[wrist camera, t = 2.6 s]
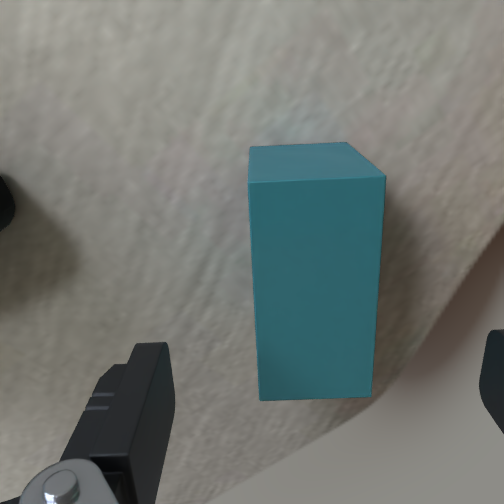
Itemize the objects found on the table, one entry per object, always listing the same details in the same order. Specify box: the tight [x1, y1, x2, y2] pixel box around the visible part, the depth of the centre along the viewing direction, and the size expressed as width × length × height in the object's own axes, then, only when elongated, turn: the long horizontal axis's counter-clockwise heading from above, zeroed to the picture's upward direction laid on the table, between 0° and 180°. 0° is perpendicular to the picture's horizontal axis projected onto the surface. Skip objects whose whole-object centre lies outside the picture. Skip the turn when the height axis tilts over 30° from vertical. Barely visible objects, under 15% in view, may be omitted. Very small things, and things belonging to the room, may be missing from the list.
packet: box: [248, 142, 386, 401], centre depth 17 cm, size 4×8×6 cm, turn 3°
